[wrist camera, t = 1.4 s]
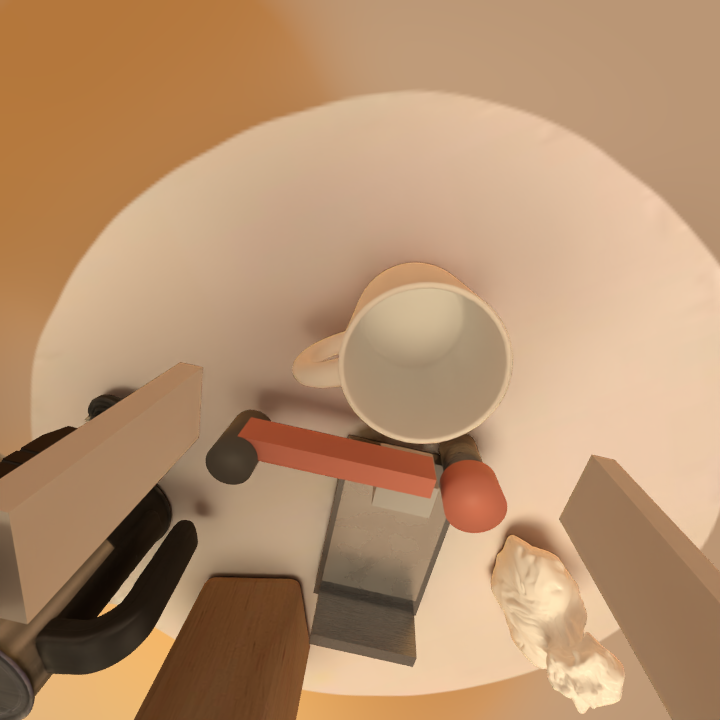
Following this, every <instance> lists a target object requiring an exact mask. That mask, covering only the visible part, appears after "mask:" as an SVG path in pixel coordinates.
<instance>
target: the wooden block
mask: <svg viewBox="0 0 720 720" xmlns="http://www.w3.org/2000/svg"><path fill="white" fill-rule="evenodd" d="M309 649H310V644H309V638H308V631H307V625H306V619H305V613H304V607H303V601H302V595H301V589H300V584H299V583H298V581H296V580H293V579H274V578H229V577H214V578H211V579H209V580H208V581H207V582H206V583H205V584H204V586H203V588H202V590H201V592H200V594H199V596H198V598H197V599H196V601H195V603H194V605H193V607H192V609H191V611H190V613H189V615H188V617H187V619H186V621H185V623H184V624H183V626H182V628H181V630H180V632H179V634H178V636H177V638H176V640H175V642H174V644H173V646H172V648H171V649H170V651H169V653H168V655H167V657H166V659H165V661H164V663H163V665H162V667H161V669H160V671H159V673H158V674H157V677H156V678H155V680H154V682H153V684H152V686H151V688H150V690H149V692H148V694H147V696H146V697H145V699H144V701H143V703H142V705H141V707H140V709H139V711H138V713H137V715H136V717H135V719H134V720H296V716H297V711H298V706H299V700H300V695H301V690H302V685H303V680H304V675H305V670H306V664H307V659H308V654H309Z"/></svg>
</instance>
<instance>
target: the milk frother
mask: <svg viewBox="0 0 720 720" xmlns="http://www.w3.org/2000/svg"><path fill="white" fill-rule="evenodd" d="M120 401H121V399H119V398H117V397H115V396H112V395H101V396H99V397H97V398H95V399H93V400H92V401H91V403H90V405H89V408H88V413H89V417H87V418H86V419H85V420H86V422H89V421H90V420H92V419H93V418H95V417H96V416H98V415H100V414H101V413H103V412H104V411H106V410H107V409H109V408H110V407H112V406H114V405H115V404H117V403H118V402H120ZM170 521H171V513H170V507H169V504H168V501H167V499H166V497H165V496H164V494H163V493H162V492H161V491H160V489H159V488H158V487H157V486H156V485H155V486H154V487H153V488H152V489H151V490H150V491H149V492H148V493H147V495H146V496H145V497H144V498H143V499H142V500H141V501H140V502H139V503H138V504H137V505H136V507H135V508H134V509H133V510H132V511H131V512H130V513H129V514H128V515H127V516H126V517H125V519H124V520H123V521H122V522H121V523H120V524H119V525H118V526H117V527H116V528H115V529H114V531H113V532H112V533H111V534H110V535H109V536H108V537H107V538H106V539H105V540H104V541H103V543H102V544H101V545H100V546H99V547H98V548H97V549H96V550H95V551H94V552H93V554H92V555H91V556H90V557H89V558H88V559H87V560H86V561H85V562H84V563H83V564H82V566H81V567H80V568H79V569H78V570H77V571H76V572H75V573H74V574H73V575H72V576H71V578H70V579H69V580H68V581H67V582H66V583H65V584H64V585H63V586H62V587H61V588H60V590H59V591H58V592H57V593H56V594H55V595H54V596H53V597H52V598H51V599H50V600H49V602H48V603H47V604H46V605H45V606H44V607H43V608H42V609H41V610H40V611H39V613H38V614H37V615H36V616H35V617H34V618H33V619H32V620H31V621H30V622H29V623H28V624H24V623H19V622H15V621H11V620H6V619H2V618H0V720H22V719H24V718H25V717H27V715H28V714H29V713H30V712H31V710H32V707H33V704H34V699H35V696H36V694H37V693H38V692H39V690H40V689H41V688H42V687H43V685H44V684H45V683H46V682H47V680H48V679H49V678H50V676H51V675H52V674H74V675H82V674H89V673H94V672H97V671H100V670H103V669H106V668H108V667H110V666H112V665H114V664H116V663H118V662H119V661H121V660H122V659H124V658H125V657H127V656H128V655H129V654H131V653H132V652H133V651H134V650H135V649H136V648H137V647H138V646H139V645H140V644H141V643H142V642H143V641H144V640H145V639H146V638H147V637H148V635H149V634H150V633H151V631H152V630H153V628H154V627H155V625H156V623H157V622H158V620H159V618H160V616H161V614H162V612H163V610H164V609H165V607H166V605H167V603H168V601H169V599H170V597H171V595H172V594H173V592H174V590H175V588H176V586H177V584H178V582H179V580H180V578H181V576H182V575H183V573H184V571H185V569H186V567H187V565H188V563H189V561H190V559H191V557H192V555H193V553H194V551H195V550H196V547H197V544H198V539H197V533H196V528H195V526H194V524H193V523H192V522H191V521H187V520H182V521H179V522H178V523H177V524H176V525H175V526H174V527H173V528H172V530H171V531H170V532H169V534H168V535H167V537H166V538H165V540H164V541H163V543H162V544H161V546H160V547H159V549H158V550H157V552H156V553H155V555H154V556H153V558H152V559H151V561H150V562H149V564H148V565H147V566H146V568H145V569H144V571H143V572H142V573H141V575H140V576H139V578H138V579H137V581H136V582H135V584H134V586H133V588H132V589H131V591H130V592H129V593H128V595H127V596H126V597H125V599H124V600H123V601H122V602H121V603H120V604H119V605H118V606H116V607H115V608H114V609H112V610H111V611H109V612H107V613H105V614H104V615H102V616H99V617H97V616H98V615H99V614H100V612H101V611H102V610H103V608H104V607H105V606H106V605H107V604H108V602H109V601H110V600H111V598H112V597H113V596H114V595H115V594H116V592H117V591H118V590H119V588H120V587H121V585H122V584H123V583H124V581H125V580H126V579H127V578H128V577H129V575H130V574H131V573H132V571H133V570H134V569H135V567H136V566H137V565H138V564H139V562H140V561H141V560H142V558H143V557H144V556H145V555H146V553H147V552H148V551H149V550H150V549H151V547H152V546H153V545H154V544H155V542H156V541H158V540H159V539H160V538H162V537H163V536H164V534H165V533H166V532H167V530H168V528H169V526H170Z"/></svg>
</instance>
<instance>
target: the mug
mask: <svg viewBox="0 0 720 720" xmlns="http://www.w3.org/2000/svg"><path fill="white" fill-rule="evenodd" d="M337 354H339V355H338V358H336V359H332V360H327V361H324V360H326V359H328V358H330V357H332V356H334V355H337ZM512 365H513V355H512V347H511V342H510V339H509V336H508V333H507V330H506V328H505V326H504V325H503V323H502V321H501V319H500V318H499V317H498V315H497V314H496V312H495V311H494V310H493V309H492V308H491V307H490V306H489V305H488V304H487V303H486V302H485V301H483V300H482V299H481V298H480V297H479V296H477V295H476V294H475V293H474V292H473V291H471V290H470V289H469V288H468V287H466V286H465V285H464V284H463V283H462V282H460V281H459V280H458V279H457V278H456V277H454V276H453V275H452V274H450V273H449V272H447V271H445V270H444V269H442V268H440V267H437V266H434V265H431V264H426V263H418V262H415V263H405V264H400V265H397V266H394V267H391V268H389V269H387V270H385V271H384V272H382V273H381V274H379V275H378V276H377V277H376V278H374V279H373V280H372V281H371V282H370V284H369V285H368V286H367V287H366V289H365V290H364V291H363V293H362V295H361V297H360V299H359V301H358V303H357V306H356V308H355V310H354V313H353V315H352V317H351V320H350V322H349V324H348V327H347V329H346V331H344V332H341V333H338V334H335V335H332V336H330V337H327V338H325V339H322V340H320V341H318V342H316V343H314V344H313V345H311V346H309V347H308V348H307V349H305V350H304V351H303V352H301V353H300V355H299V356H298V357H297V358H296V359H295V361H294V363H293V367H292V371H293V376H294V377H295V379H296V380H297V381H298V382H299V383H301V384H302V385H305V386H308V387H314V388H330V387H340V386H341V387H342V390H343V393H344V395H345V397H346V399H347V401H348V403H349V405H350V406H351V407H352V409H353V410H354V412H355V413H356V414H357V415H358V416H359V417H360V418H361V420H363V421H364V422H365V423H366V424H367V425H368V426H370V427H371V428H373V429H374V430H376V431H377V432H379V433H381V434H383V435H385V436H387V437H390V438H393V439H395V440H399V441H403V442H408V443H417V444H429V443H438V442H443V441H447V440H451V439H454V438H456V437H459V436H461V435H463V434H466V433H468V432H469V431H471V430H473V429H474V428H476V427H477V426H479V425H480V424H481V423H482V422H484V421H485V420H486V419H487V418H488V417H489V416H490V415H491V414H492V413H493V412H494V410H495V409H496V408H497V406H498V405H499V404H500V402H501V400H502V399H503V397H504V395H505V393H506V390H507V388H508V385H509V382H510V378H511V374H512Z"/></svg>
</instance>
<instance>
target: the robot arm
mask: <svg viewBox="0 0 720 720" xmlns="http://www.w3.org/2000/svg"><path fill="white" fill-rule="evenodd" d="M202 374H203V367H199V366H195V365H190V364H186V363H182V362H180V363H178V364H177V365H175V366H174V367H172V368H171V369H169V370H168V371H166V372H165V373H163V374H161V375H160V376H158V377H157V378H155V379H154V380H152V381H151V382H149V383H148V384H146V385H144V386H143V387H141V388H140V389H138V390H137V391H135V392H134V393H132V394H131V395H129V396H127V397H126V398H124V399H123V400H121V401H120V402H118V403H117V404H115V405H114V406H112V407H110V408H109V409H107V410H106V411H104V412H103V413H101V414H100V415H98V416H96V417H95V418H93V419H92V420H90V421H89V422H87V423H86V424H84V425H83V426H81V427H79V428H74V427H70V426H67V427H64V428H61V429H59V430H56V431H53V432H50V433H47V434H44V435H42V436H40V437H38V438H37V439H35V440H33V441H32V442H30V443H29V444H27V445H25V446H24V447H22V448H21V450H20V451H15V452H13V453H12V454H10V455H8V456H7V457H5V458H3V460H2V462H0V618H2V619H6V620H11V621H15V622H19V623H24V624H28V623H29V622H30V621H31V620H32V619H33V618H34V617H35V616H36V615H37V614H38V613H39V611H40V610H41V609H42V608H43V607H44V606H45V605H46V604H47V603H48V602H49V600H50V599H51V598H52V597H53V596H54V595H55V594H56V593H57V592H58V591H59V590H60V588H61V587H62V586H63V585H64V584H65V583H66V582H67V581H68V580H69V579H70V578H71V576H72V575H73V574H74V573H75V572H76V571H77V570H78V569H79V568H80V567H81V566H82V564H83V563H84V562H85V561H86V560H87V559H88V558H89V557H90V556H91V555H92V554H93V552H94V551H95V550H96V549H97V548H98V547H99V546H100V545H101V544H102V543H103V541H104V540H105V539H106V538H107V537H108V536H109V535H110V534H111V533H112V532H113V531H114V529H115V528H116V527H117V526H118V525H119V524H120V523H121V522H122V521H123V520H124V519H125V517H126V516H127V515H128V514H129V513H130V512H131V511H132V510H133V509H134V508H135V507H136V505H137V504H138V503H139V502H140V501H141V500H142V499H143V498H144V497H145V496H146V495H147V493H148V492H149V491H150V490H151V489H152V488H153V487H154V486H155V485H156V484H157V482H158V481H159V480H160V479H161V478H162V477H163V476H164V475H165V474H166V473H167V472H168V470H169V469H170V468H171V467H172V466H173V465H174V464H175V463H176V462H177V461H178V460H179V458H180V457H181V456H182V455H183V454H184V453H185V452H186V451H187V450H188V449H189V448H190V446H191V445H192V444H193V443H194V442H195V441H196V440H197V439H198V438H199V426H200V409H201V391H202ZM559 520H560V521H561V523H562V525H563V527H564V528H565V530H566V532H567V534H568V536H569V537H570V539H571V541H572V543H573V545H574V546H575V548H576V550H577V552H578V553H579V555H580V557H581V559H582V561H583V562H584V564H585V566H586V568H587V569H588V571H589V573H590V575H591V577H592V578H593V580H594V582H595V584H596V585H597V587H598V589H599V591H600V593H601V594H602V596H603V598H604V600H605V601H606V603H607V605H608V607H609V609H610V610H611V612H612V614H613V616H614V617H615V619H616V621H617V623H618V625H619V626H620V628H621V630H622V632H623V633H624V635H625V637H626V639H627V640H628V642H629V644H630V646H631V648H632V649H633V651H634V653H635V655H636V657H637V658H638V660H639V662H640V664H641V665H642V667H643V669H644V671H645V673H646V674H647V676H648V678H649V680H650V681H651V683H652V685H653V687H654V689H655V690H656V692H657V694H658V696H659V698H660V699H661V701H662V703H663V704H664V706H665V708H666V710H667V712H668V714H669V715H670V717H671V719H672V720H720V571H719V570H718V569H717V568H716V567H715V566H714V565H713V564H712V563H711V562H710V561H709V560H708V559H707V558H706V556H705V555H704V554H703V553H702V552H701V551H700V550H699V549H698V548H697V547H696V546H695V545H694V544H693V543H692V541H691V540H690V539H689V538H688V537H687V536H686V535H685V534H684V533H683V532H682V531H681V530H680V529H679V528H678V527H677V526H676V524H675V523H674V522H673V521H672V520H671V519H670V518H669V517H668V516H667V515H666V514H665V513H664V512H663V511H662V510H661V508H660V507H659V506H658V505H657V504H656V503H655V502H654V501H653V500H652V499H651V498H650V497H649V496H648V495H647V494H646V493H645V491H644V490H643V489H642V488H641V487H640V486H639V485H638V484H637V483H636V482H635V481H634V480H633V479H632V478H631V477H630V476H629V474H628V473H627V472H626V471H625V470H624V469H623V468H622V467H621V466H620V465H619V464H618V463H617V462H616V461H615V460H614V459H609V458H605V457H600V456H596V455H591V457H590V459H589V461H588V463H587V465H586V467H585V469H584V471H583V473H582V475H581V477H580V479H579V481H578V483H577V485H576V487H575V489H574V490H573V492H572V494H571V496H570V498H569V500H568V502H567V504H566V506H565V508H564V510H563V512H562V514H561V516H560V518H559Z"/></svg>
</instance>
